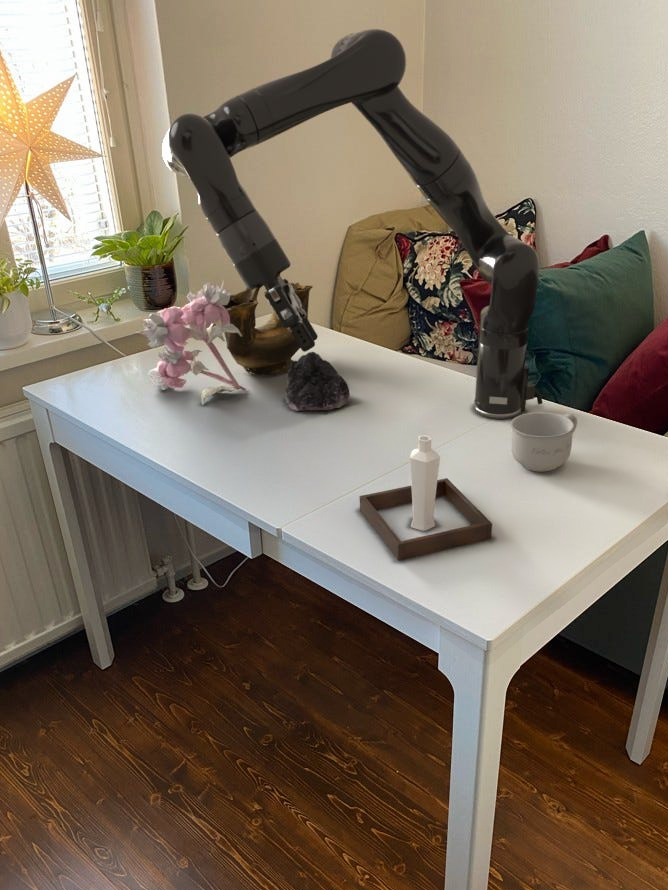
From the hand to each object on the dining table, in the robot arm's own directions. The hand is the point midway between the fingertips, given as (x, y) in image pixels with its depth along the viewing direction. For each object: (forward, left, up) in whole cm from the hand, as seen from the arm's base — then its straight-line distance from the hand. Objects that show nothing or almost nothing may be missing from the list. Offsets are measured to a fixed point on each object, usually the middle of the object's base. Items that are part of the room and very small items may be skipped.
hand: (311, 344), depth 136 cm
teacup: (-40, +8, -25) cm, 48 cm away
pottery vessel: (-7, -54, -25) cm, 60 cm away
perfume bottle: (-11, +19, -25) cm, 33 cm away
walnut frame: (-11, +19, -24) cm, 33 cm away
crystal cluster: (-11, -33, -25) cm, 43 cm away
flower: (+12, -47, -25) cm, 54 cm away
